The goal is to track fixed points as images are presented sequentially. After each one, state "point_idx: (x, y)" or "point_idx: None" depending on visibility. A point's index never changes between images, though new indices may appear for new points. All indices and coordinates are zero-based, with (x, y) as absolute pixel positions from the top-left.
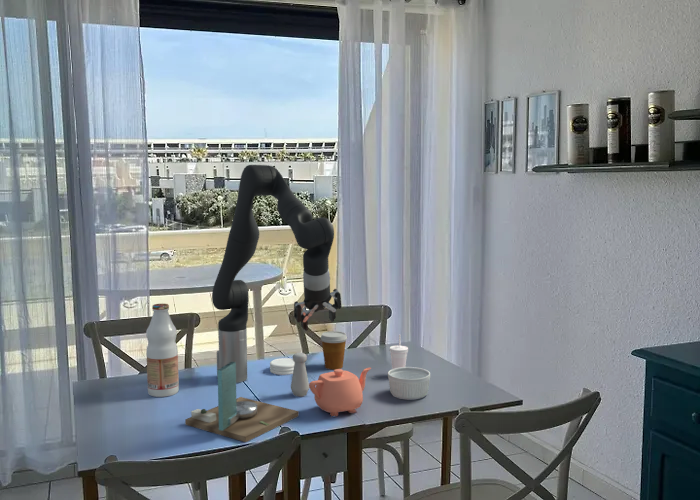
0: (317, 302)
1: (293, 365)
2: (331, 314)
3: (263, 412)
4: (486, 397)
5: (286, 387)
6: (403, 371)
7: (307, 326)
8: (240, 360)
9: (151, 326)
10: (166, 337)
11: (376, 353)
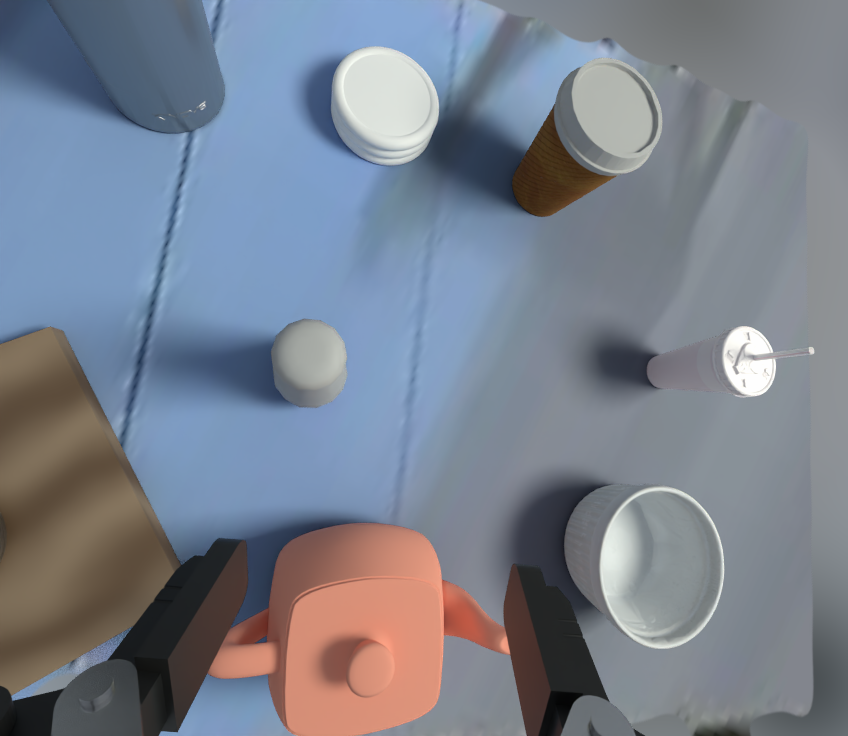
0: None
1: (401, 146)
2: (525, 713)
3: (43, 551)
4: (762, 663)
5: (305, 279)
6: (664, 493)
7: (216, 644)
8: (138, 60)
9: None
10: None
11: (697, 155)
